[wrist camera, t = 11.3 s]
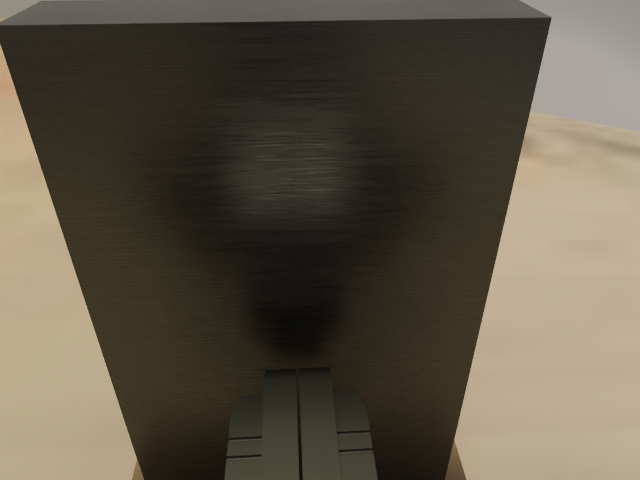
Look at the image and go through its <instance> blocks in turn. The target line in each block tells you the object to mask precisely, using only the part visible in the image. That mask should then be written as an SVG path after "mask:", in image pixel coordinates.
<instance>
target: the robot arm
mask: <svg viewBox="0 0 640 480" xmlns="http://www.w3.org/2000/svg"><path fill="white" fill-rule="evenodd" d="M299 387H300V415H301V443H302V471H303V480H378V478H377V472H376V465H375V459H374V453H373V447H372V441H371V434H370V428H369V422H368V416H367V409H366V407H365V406H364V404H363V403H362V401H361V400H360V398H359V396H358V395H357V393H356V392H355V390H342V391H333V390H332V380H331V371H330V367H319V368H299ZM228 439H229V441H228V448H227V461H226V469H225V479H224V480H300V466H299V434H298V406H297V381H296V369H280V370H265V372H264V395H244V396H241V398H240V400H239V401H238V403H237V405H236V407H235V408H234V410H233V412H232V414H231V416H230V426H229V437H228Z"/></svg>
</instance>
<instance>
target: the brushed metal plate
mask: <svg viewBox="0 0 640 480" xmlns="http://www.w3.org/2000/svg"><path fill="white" fill-rule="evenodd" d="M550 22H551V17H550V16H548V15H546V14H544V13H542V12H540V11H538V10H536V9H535V8H533V7H530V6H529V5H527V4H525V3H523V2H521V1H519V0H79V1H78V0H74V1H41V2H38V3H37V4H35V5H33V6H31V7H29V8H27V9H25V10H23V11H21V12H19V13H17V14H16V15H14V16H12V17H10V18H8V19H6V20H4V21H2V22H0V44H1V47H2V50H3V53H4V56H5V59H6V62H7V65H8V68H9V71H10V74H11V77H12V80H13V83H14V86H15V89H16V92H17V95H18V98H19V102H20V105H21V108H22V111H23V114H24V117H25V120H26V123H27V126H28V129H29V132H30V135H31V138H32V141H33V144H34V147H35V150H36V153H37V156H38V159H39V162H40V165H41V168H42V171H43V174H44V177H45V180H46V183H47V187H48V190H49V193H50V196H51V199H52V202H53V205H54V208H55V211H56V214H57V217H58V220H59V223H60V226H61V229H62V232H63V235H64V238H65V241H66V244H67V247H68V250H69V253H70V256H71V259H72V262H73V265H74V268H75V272H76V275H77V278H78V281H79V284H80V287H81V290H82V293H83V296H84V299H85V302H86V305H87V308H88V311H89V314H90V317H91V320H92V323H93V326H94V329H95V332H96V335H97V338H98V341H99V344H100V347H101V350H102V353H103V357H104V360H105V363H106V366H107V369H108V372H109V375H110V378H111V381H112V384H113V387H114V390H115V393H116V396H117V399H118V402H119V405H120V408H121V411H122V414H123V417H124V420H125V423H126V426H127V429H128V432H129V435H130V438H131V442H132V445H133V448H134V451H135V454H136V457H137V460H138V463H139V466H140V469H141V472H142V475H143V478H144V480H224V479H225V469H226V461H227V448H228V441H229V439H228V437H229V426H230V416H231V414H232V412H233V410H234V408H235V407H236V405H237V403H238V401H239V400H240V398H241V396H244V395H264V372H265V370H280V369H296V381H297V406H298V434H299V466H300V480H303V471H302V443H301V415H300V387H299V368H319V367H330V371H331V380H332V390H333V391H342V390H355V392H356V393H357V395H358V396H359V398H360V400H361V401H362V403H363V404H364V406H365V407H366V409H367V416H368V422H369V428H370V434H371V441H372V447H373V453H374V459H375V465H376V472H377V478H378V480H445V477H446V472H447V468H448V464H449V459H450V455H451V451H452V446H453V442H454V438H455V433H456V429H457V425H458V420H459V416H460V412H461V407H462V403H463V399H464V394H465V390H466V386H467V381H468V377H469V373H470V368H471V364H472V360H473V355H474V351H475V347H476V342H477V338H478V334H479V329H480V325H481V321H482V317H483V312H484V308H485V304H486V299H487V295H488V291H489V286H490V282H491V278H492V273H493V269H494V265H495V260H496V256H497V252H498V247H499V243H500V239H501V234H502V230H503V226H504V221H505V217H506V213H507V208H508V204H509V200H510V195H511V191H512V187H513V182H514V178H515V174H516V169H517V165H518V161H519V156H520V152H521V148H522V143H523V139H524V135H525V130H526V126H527V122H528V117H529V113H530V109H531V104H532V100H533V96H534V91H535V87H536V83H537V78H538V74H539V69H540V65H541V61H542V57H543V52H544V48H545V43H546V39H547V35H548V30H549V26H550Z"/></svg>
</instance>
